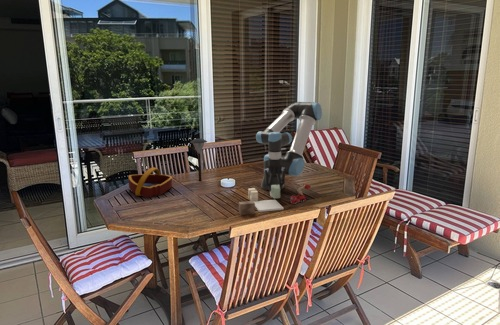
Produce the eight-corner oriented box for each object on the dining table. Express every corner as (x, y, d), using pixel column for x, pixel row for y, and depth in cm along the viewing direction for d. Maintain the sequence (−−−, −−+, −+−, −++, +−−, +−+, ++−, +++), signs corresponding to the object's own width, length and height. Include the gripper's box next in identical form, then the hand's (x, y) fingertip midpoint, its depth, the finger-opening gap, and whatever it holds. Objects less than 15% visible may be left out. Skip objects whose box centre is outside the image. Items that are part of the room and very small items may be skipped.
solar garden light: (210, 181, 261) (209, 140, 254) (193, 183, 257) (191, 141, 250) (206, 177, 272) (204, 137, 266) (189, 179, 268) (188, 138, 261)
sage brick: (269, 194, 227) (269, 185, 226) (276, 193, 228) (276, 184, 227) (273, 198, 220) (273, 189, 218) (280, 197, 220) (280, 188, 219)
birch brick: (248, 197, 226) (248, 188, 224) (254, 197, 227) (254, 188, 225) (251, 202, 218) (251, 192, 217) (257, 201, 219) (257, 191, 218)
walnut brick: (240, 215, 198) (240, 204, 196) (238, 212, 201) (238, 202, 200) (254, 213, 200) (254, 203, 198) (252, 211, 203) (252, 200, 202)
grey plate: (252, 203, 216) (252, 201, 216) (275, 201, 219) (275, 199, 219) (259, 211, 202) (259, 210, 201) (283, 209, 205) (283, 207, 205)
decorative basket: (158, 202, 226) (160, 179, 222) (114, 193, 230) (116, 170, 227) (179, 187, 258) (181, 167, 254) (140, 179, 263) (142, 159, 259)
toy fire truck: (289, 203, 216) (289, 187, 213) (306, 198, 224) (306, 183, 221) (293, 204, 213) (293, 188, 211) (310, 200, 221) (310, 184, 219)
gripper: (262, 160, 213) (263, 199, 218) (290, 158, 217) (290, 196, 222) (259, 157, 220) (259, 195, 225) (286, 155, 224) (286, 192, 229)
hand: (274, 195), depth 224 cm, fingers closed on sage brick, 4 cm apart
